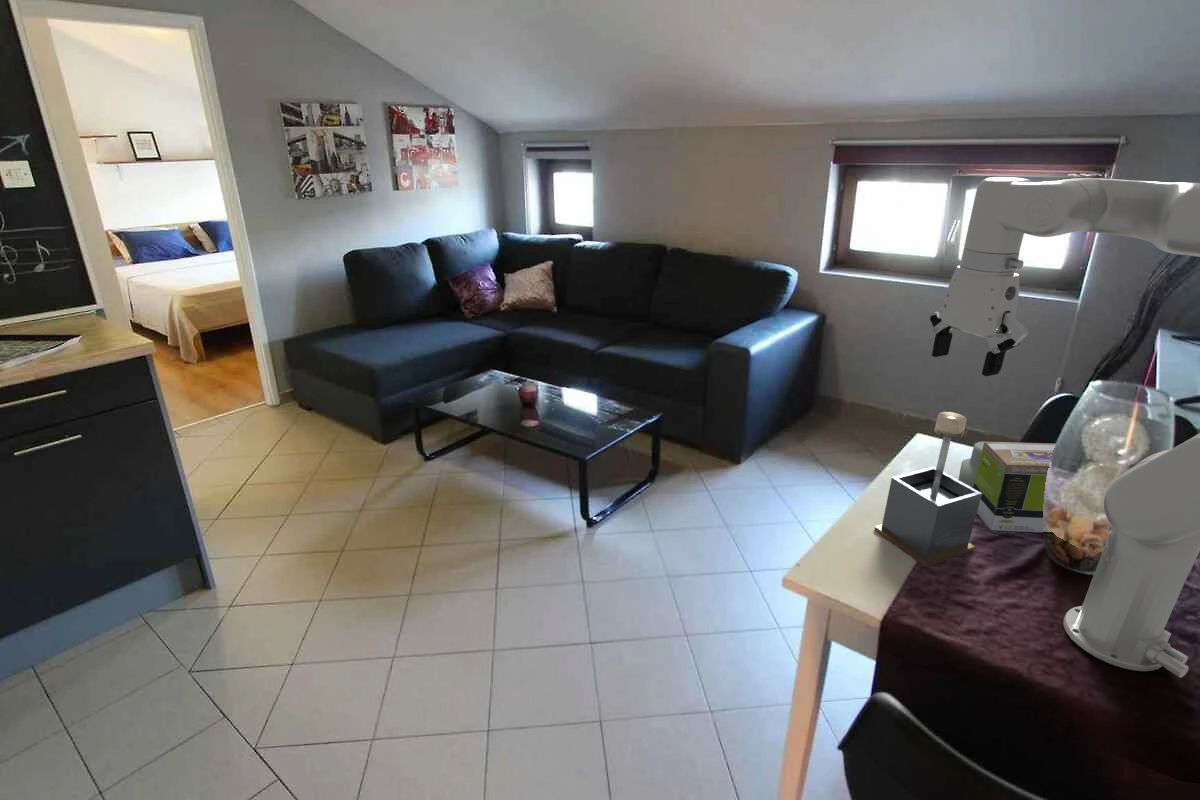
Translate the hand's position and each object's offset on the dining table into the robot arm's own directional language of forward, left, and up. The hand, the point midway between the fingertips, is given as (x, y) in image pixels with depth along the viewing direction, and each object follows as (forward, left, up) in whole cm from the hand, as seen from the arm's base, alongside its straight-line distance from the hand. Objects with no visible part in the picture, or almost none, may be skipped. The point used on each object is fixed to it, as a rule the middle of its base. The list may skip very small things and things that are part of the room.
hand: (963, 364), depth 108 cm
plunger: (0, 0, -26) cm, 26 cm away
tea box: (-2, -23, -35) cm, 42 cm away
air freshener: (+9, -26, -35) cm, 45 cm away
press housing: (0, 0, -35) cm, 35 cm away
